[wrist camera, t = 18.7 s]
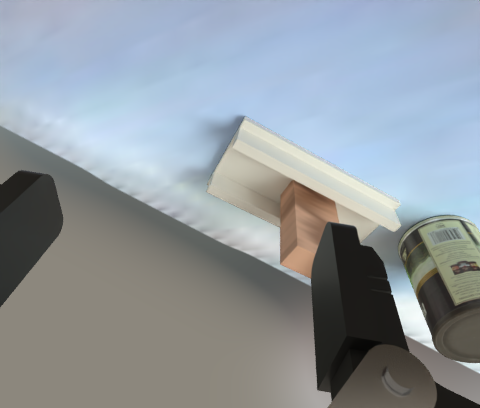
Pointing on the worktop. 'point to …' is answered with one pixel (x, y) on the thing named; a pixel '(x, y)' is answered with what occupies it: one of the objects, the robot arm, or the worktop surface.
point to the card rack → (301, 170)
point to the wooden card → (303, 225)
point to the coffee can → (446, 282)
